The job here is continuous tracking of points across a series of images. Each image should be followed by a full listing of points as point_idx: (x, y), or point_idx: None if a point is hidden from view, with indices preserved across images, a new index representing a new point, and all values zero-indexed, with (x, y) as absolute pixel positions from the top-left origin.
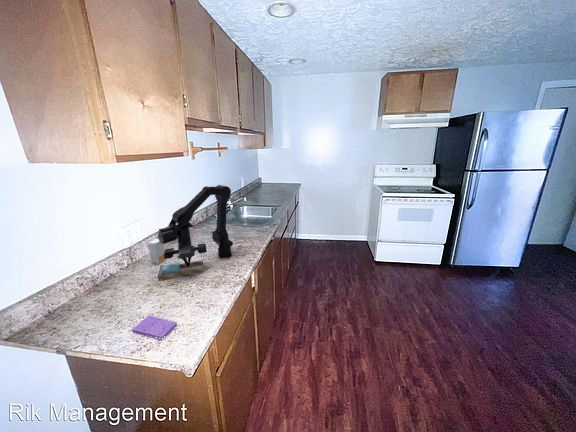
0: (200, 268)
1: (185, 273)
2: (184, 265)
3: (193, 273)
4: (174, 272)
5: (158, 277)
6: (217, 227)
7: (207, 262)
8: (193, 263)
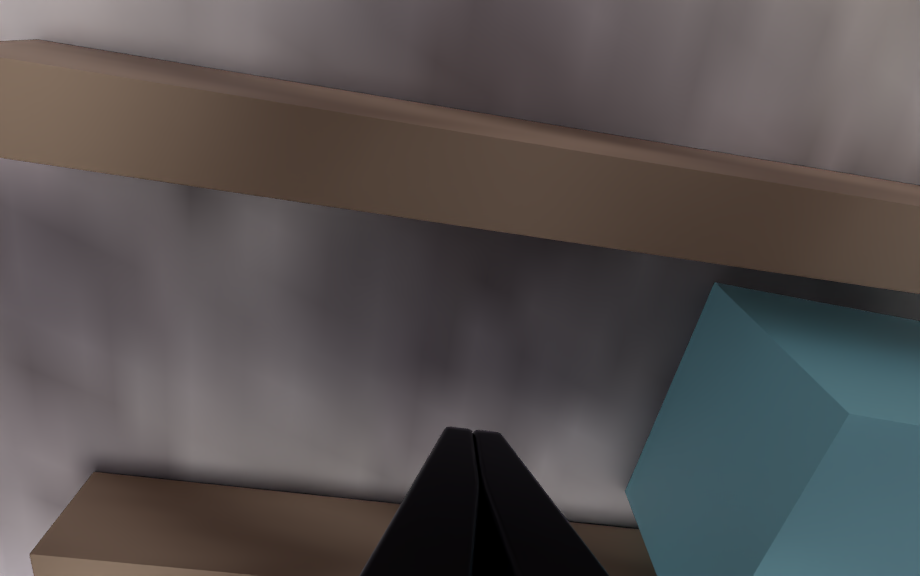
0: (69, 136)
1: (614, 144)
2: None
3: (369, 99)
4: (879, 347)
5: None
6: None
7: (3, 518)
8: (311, 561)
